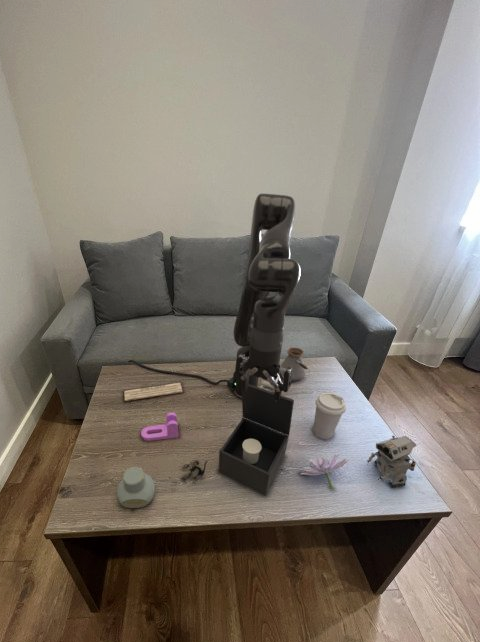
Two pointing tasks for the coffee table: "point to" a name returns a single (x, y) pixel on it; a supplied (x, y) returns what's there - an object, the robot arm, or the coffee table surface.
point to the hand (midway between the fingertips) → (260, 394)
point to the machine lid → (267, 408)
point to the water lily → (324, 467)
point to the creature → (194, 469)
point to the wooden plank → (152, 391)
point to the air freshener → (135, 488)
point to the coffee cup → (328, 414)
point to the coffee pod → (251, 450)
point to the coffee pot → (295, 363)
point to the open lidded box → (268, 460)
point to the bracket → (162, 429)
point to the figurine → (394, 459)
